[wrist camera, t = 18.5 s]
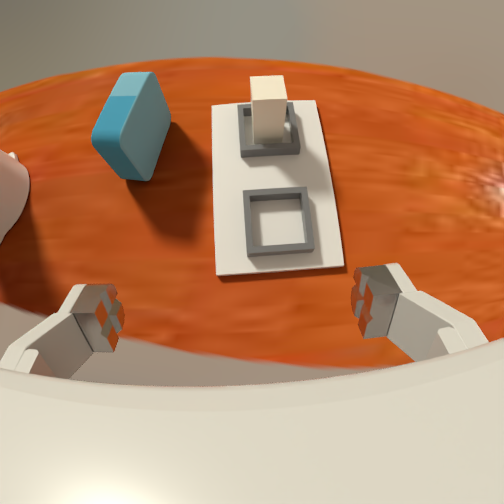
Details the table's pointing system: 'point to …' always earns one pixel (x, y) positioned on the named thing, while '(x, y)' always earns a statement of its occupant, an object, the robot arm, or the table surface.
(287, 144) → the dock
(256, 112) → the plug block
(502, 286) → the table surface
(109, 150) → the data package
